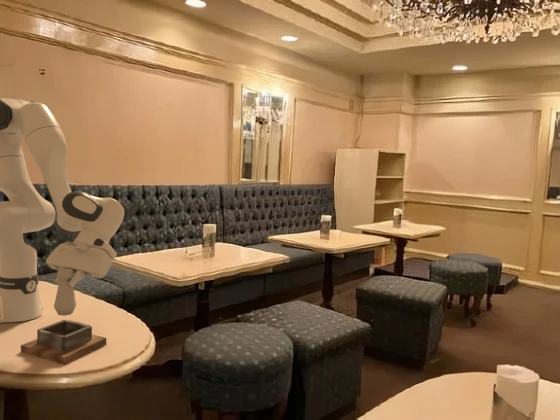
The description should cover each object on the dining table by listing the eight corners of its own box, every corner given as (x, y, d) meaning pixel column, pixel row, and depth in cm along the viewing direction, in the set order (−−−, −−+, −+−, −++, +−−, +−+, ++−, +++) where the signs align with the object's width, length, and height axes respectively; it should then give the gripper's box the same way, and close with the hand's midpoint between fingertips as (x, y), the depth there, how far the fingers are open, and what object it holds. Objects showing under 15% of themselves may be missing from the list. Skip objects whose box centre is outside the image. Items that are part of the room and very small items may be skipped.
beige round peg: (68, 317, 137) (68, 272, 136) (49, 315, 138) (49, 270, 136) (80, 311, 143) (80, 267, 141) (62, 309, 144) (62, 265, 142)
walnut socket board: (20, 352, 137) (20, 331, 136) (65, 333, 152) (65, 315, 151) (64, 364, 131) (64, 343, 130) (106, 344, 146) (106, 324, 145)
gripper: (57, 234, 148) (30, 272, 140) (111, 243, 141) (85, 284, 133) (69, 246, 153) (43, 284, 145) (121, 255, 145) (97, 295, 137)
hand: (63, 284), depth 139 cm, fingers closed on beige round peg, 3 cm apart
